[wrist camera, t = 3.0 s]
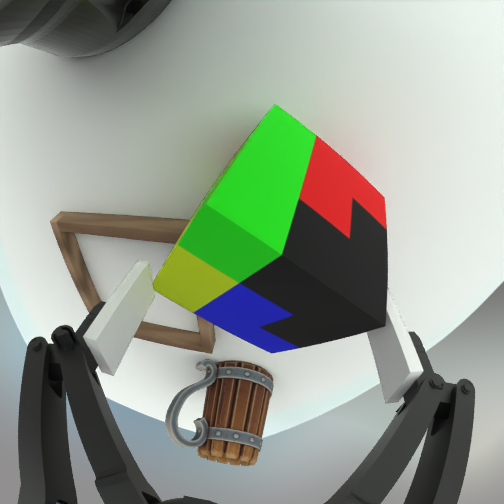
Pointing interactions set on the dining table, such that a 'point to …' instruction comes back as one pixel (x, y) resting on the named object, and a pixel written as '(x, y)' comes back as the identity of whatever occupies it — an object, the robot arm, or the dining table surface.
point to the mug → (226, 412)
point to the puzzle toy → (284, 244)
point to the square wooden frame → (130, 229)
